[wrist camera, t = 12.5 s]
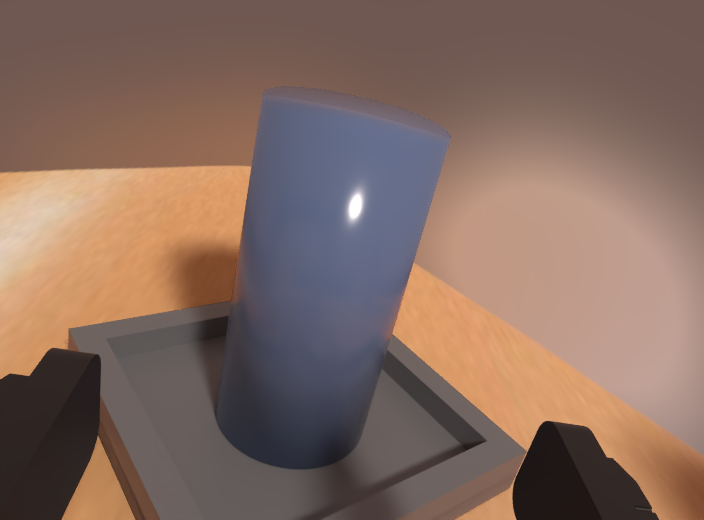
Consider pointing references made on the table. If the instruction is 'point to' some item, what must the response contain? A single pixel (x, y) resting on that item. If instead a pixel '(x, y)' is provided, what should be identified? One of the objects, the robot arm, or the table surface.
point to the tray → (270, 481)
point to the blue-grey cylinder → (321, 270)
